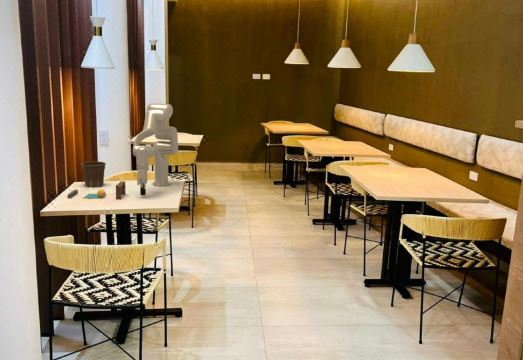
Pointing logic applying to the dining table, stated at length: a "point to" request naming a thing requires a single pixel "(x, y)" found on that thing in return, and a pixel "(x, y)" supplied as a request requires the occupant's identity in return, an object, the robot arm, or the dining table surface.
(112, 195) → the dining table surface
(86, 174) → the plant pot
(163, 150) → the robot arm
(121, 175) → the dining table surface
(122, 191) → the bridge
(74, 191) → the stopper wall
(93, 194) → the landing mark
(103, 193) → the ball
